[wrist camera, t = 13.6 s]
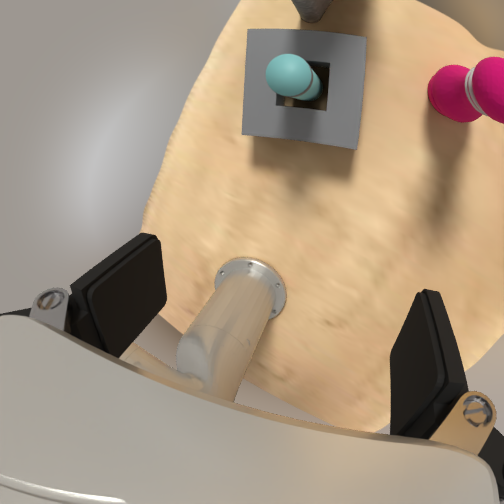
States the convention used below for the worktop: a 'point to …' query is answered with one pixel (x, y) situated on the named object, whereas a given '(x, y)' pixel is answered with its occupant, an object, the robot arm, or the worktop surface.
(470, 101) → the pepper mill
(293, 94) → the peg
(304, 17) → the flask
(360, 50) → the socket block
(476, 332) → the worktop surface
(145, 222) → the worktop surface
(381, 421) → the worktop surface
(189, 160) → the worktop surface
